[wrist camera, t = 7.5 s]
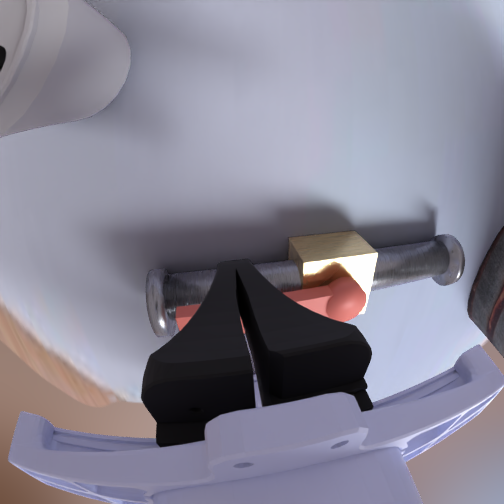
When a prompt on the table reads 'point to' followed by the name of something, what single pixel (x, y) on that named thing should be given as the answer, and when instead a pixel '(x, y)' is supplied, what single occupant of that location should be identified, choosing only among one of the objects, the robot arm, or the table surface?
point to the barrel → (490, 295)
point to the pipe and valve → (316, 271)
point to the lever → (312, 301)
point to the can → (57, 63)
